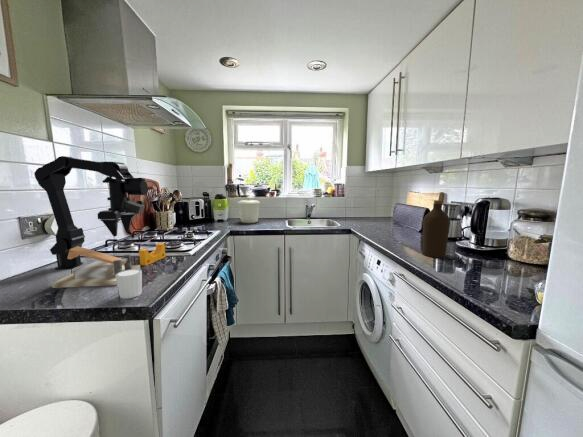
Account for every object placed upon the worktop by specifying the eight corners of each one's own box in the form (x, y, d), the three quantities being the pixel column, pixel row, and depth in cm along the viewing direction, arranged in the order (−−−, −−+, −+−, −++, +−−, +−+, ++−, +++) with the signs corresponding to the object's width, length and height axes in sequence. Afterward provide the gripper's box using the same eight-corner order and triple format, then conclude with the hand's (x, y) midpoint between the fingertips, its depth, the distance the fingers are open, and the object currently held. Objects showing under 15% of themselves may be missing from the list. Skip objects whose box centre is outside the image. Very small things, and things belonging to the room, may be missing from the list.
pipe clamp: (157, 256, 117) (156, 243, 116) (165, 257, 116) (164, 243, 116) (136, 265, 106) (135, 250, 105) (145, 266, 105) (144, 250, 104)
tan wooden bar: (65, 259, 88) (68, 248, 87) (76, 254, 93) (79, 244, 92) (117, 273, 90) (120, 262, 90) (125, 268, 95) (128, 258, 95)
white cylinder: (125, 290, 82) (123, 269, 81) (147, 289, 82) (145, 268, 81) (112, 300, 75) (109, 277, 74) (137, 299, 76) (134, 276, 74)
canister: (236, 221, 213) (235, 196, 210) (258, 220, 219) (257, 195, 215) (239, 225, 196) (238, 197, 193) (262, 223, 202) (262, 196, 198)
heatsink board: (52, 287, 84) (49, 267, 82) (85, 270, 99) (83, 253, 98) (117, 284, 86) (115, 264, 85) (140, 268, 101) (138, 251, 100)
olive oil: (441, 260, 110) (446, 202, 106) (416, 254, 118) (420, 200, 114) (450, 255, 117) (455, 200, 113) (426, 250, 125) (430, 199, 121)
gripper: (128, 196, 92) (131, 239, 95) (150, 193, 111) (152, 229, 113) (94, 196, 91) (98, 239, 93) (122, 193, 109) (125, 229, 112)
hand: (121, 233), depth 103 cm, fingers open, 9 cm apart
